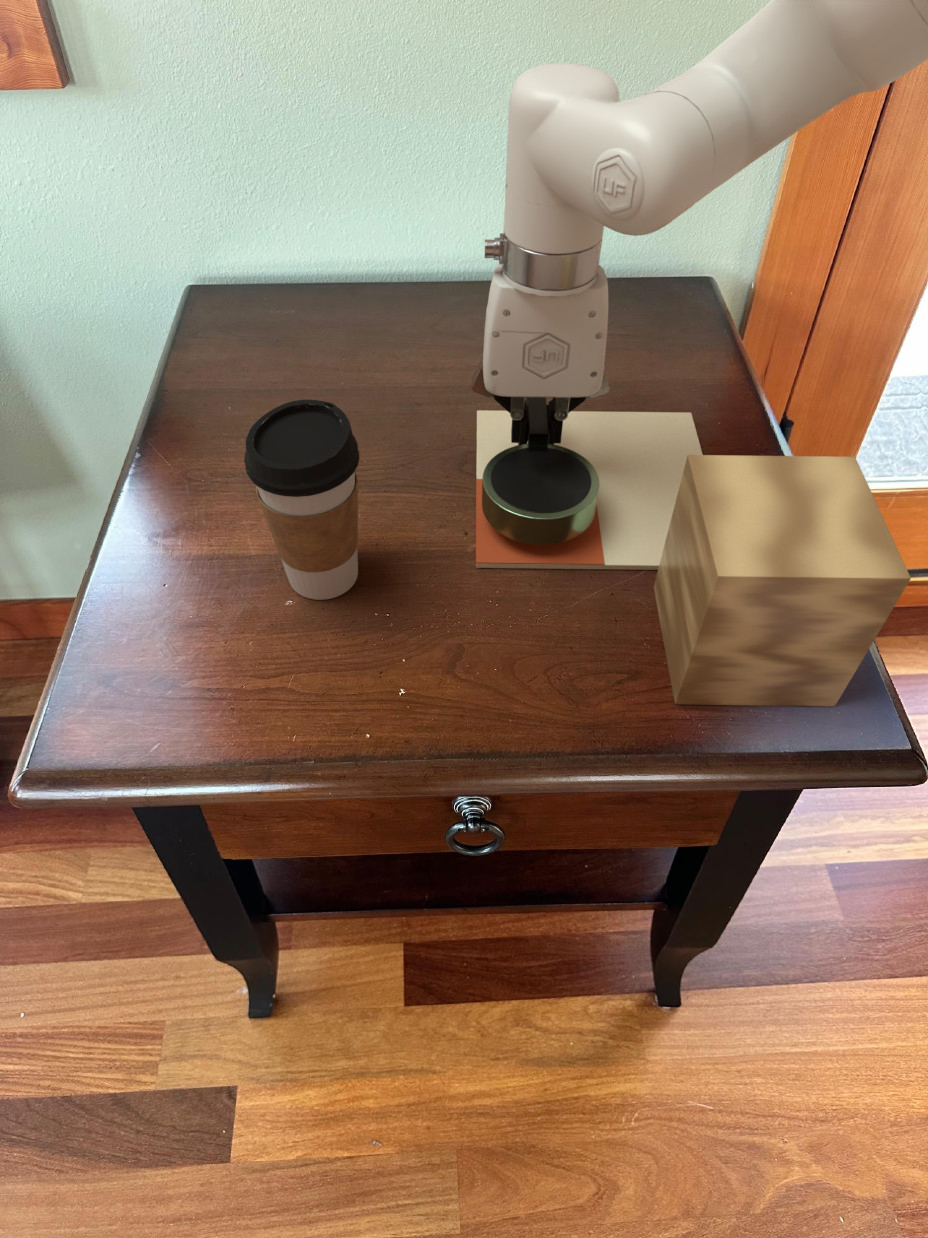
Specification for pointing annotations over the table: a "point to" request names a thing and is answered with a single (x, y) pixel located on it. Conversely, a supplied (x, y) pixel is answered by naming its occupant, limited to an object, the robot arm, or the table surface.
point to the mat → (600, 489)
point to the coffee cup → (308, 493)
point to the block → (773, 579)
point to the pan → (539, 487)
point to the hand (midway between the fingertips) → (535, 445)
